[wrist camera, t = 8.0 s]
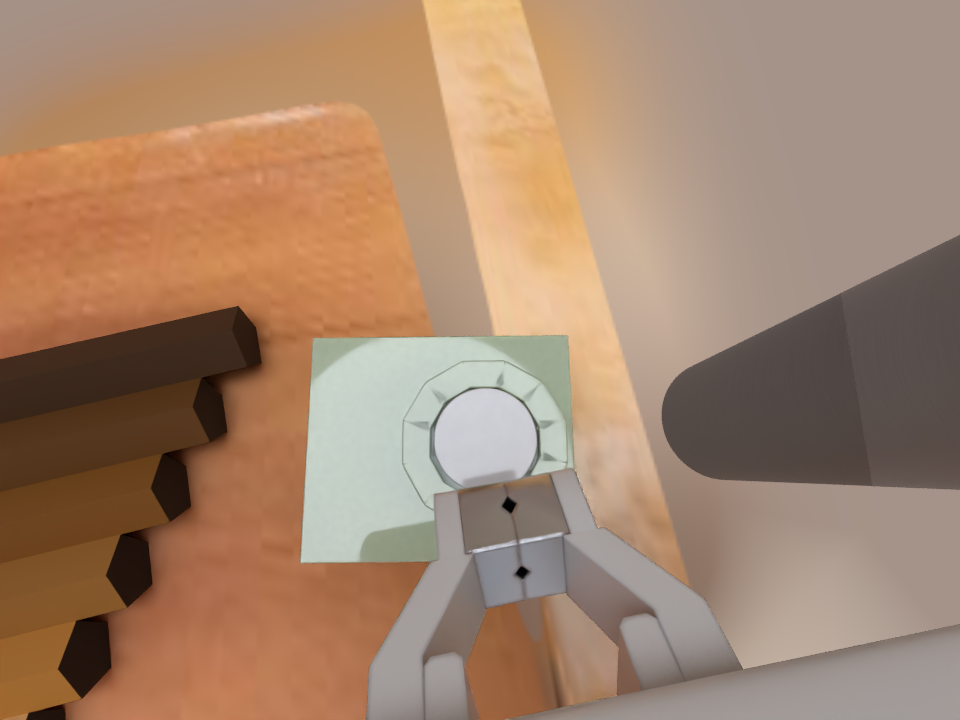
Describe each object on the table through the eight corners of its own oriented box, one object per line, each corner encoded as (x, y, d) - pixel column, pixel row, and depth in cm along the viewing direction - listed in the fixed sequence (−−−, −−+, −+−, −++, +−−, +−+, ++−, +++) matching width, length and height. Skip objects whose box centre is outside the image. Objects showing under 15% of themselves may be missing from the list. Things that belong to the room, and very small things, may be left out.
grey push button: (530, 394, 22) (535, 387, 20) (533, 490, 21) (539, 492, 19) (437, 395, 22) (433, 388, 20) (437, 491, 21) (432, 493, 19)
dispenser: (550, 361, 30) (575, 324, 23) (557, 540, 28) (587, 567, 20) (345, 364, 30) (299, 327, 22) (338, 543, 28) (284, 571, 20)
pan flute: (254, 317, 31) (-180, 414, 30) (227, 298, 28) (-263, 407, 26) (326, 783, 26) (-193, 925, 25) (304, 829, 22) (-298, 996, 21)
